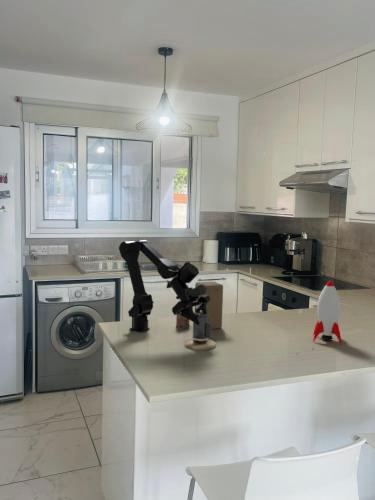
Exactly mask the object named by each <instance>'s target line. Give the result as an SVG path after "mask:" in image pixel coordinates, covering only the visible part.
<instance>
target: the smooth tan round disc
mask: <svg viewBox="0 0 375 500" xmlns="http://www.w3.org/2000/svg"><path fill="white" fill-rule="evenodd" d="M184 346H185V347H186V348H187V349H189V350H194V351H195V350H196V351H210V350H212V349H215V348H216V347H217V345H216V342H215V340H212V339H210V338H208V340H207V342H206V343H195V342H193V338H190V339H187V340H185V341H184Z"/></svg>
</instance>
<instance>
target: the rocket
mask: <svg viewBox="0 0 375 500" xmlns="http://www.w3.org/2000/svg"><path fill="white" fill-rule="evenodd" d="M321 290H322V291H321V292H320V293H319V297H318V301H317V305H316V309H317V310H316V311H317V312H316V313H317V319H318V320H317V321H316V324H315V327H314V329H313V333H312V334H313V335H312V336H313V339H312V340H313V341H312V343H314V342H315V341H316V340H317V337H319V335H320V334H321V339H323V340H329V341H330V340H333V339H334V338H333V336H334V335H335V337H336V338H337V340H338V342H339V343H340V345H341V346H342V345H343V344H342V337H341V331H340V327H339V323H338V322H339V318H340V313H341V300H340V297H339V294H338V291H337V289H336V286H335V284H334V283H333V282H332V280H329V281H327V283H326V284H325V286H324V287H323V289H321Z"/></svg>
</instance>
